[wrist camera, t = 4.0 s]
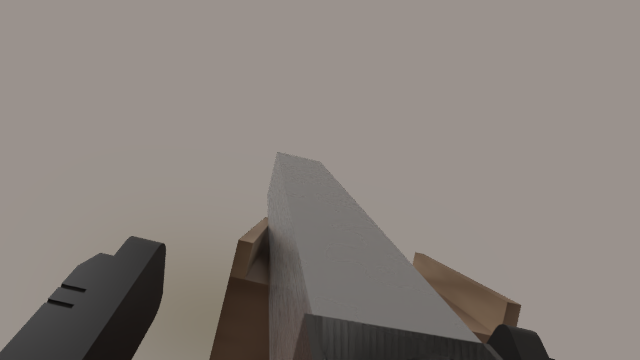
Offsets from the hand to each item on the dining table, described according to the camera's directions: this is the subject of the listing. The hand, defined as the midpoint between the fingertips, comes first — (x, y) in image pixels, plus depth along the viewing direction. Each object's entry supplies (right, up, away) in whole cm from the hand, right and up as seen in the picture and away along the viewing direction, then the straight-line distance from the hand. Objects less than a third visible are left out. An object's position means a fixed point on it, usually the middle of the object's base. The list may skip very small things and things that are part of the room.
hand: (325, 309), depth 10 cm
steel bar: (-1, -1, +11) cm, 11 cm away
